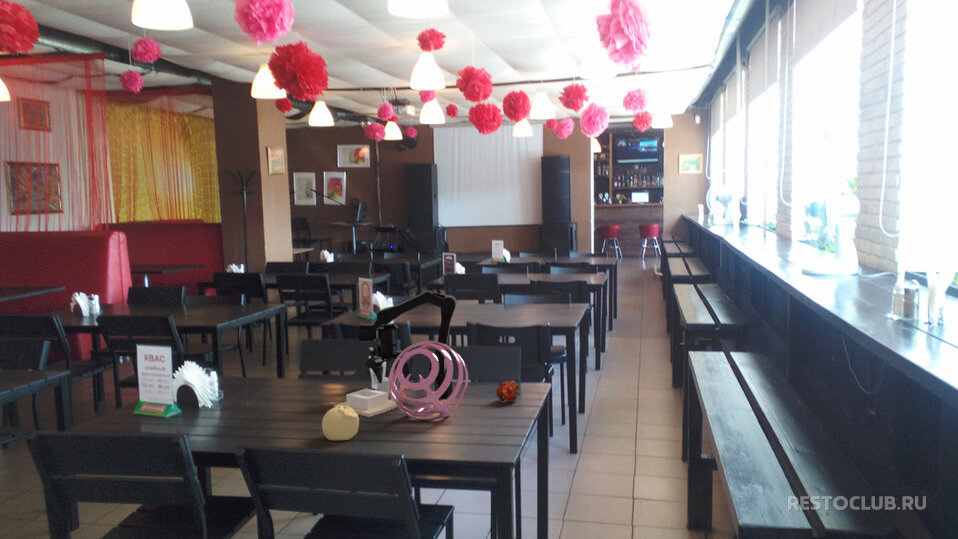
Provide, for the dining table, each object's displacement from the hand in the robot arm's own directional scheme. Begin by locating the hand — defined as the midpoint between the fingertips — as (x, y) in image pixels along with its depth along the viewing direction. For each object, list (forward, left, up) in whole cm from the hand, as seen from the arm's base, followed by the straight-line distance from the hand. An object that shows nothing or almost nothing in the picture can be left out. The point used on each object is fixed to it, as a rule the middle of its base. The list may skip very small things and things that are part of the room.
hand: (388, 380), depth 271 cm
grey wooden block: (0, 0, -7) cm, 7 cm away
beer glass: (+15, -8, -7) cm, 19 cm away
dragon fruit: (-43, -20, -7) cm, 48 cm away
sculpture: (-21, +41, -7) cm, 47 cm away
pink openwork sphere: (-30, +10, -7) cm, 32 cm away
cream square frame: (-2, +13, -7) cm, 15 cm away
